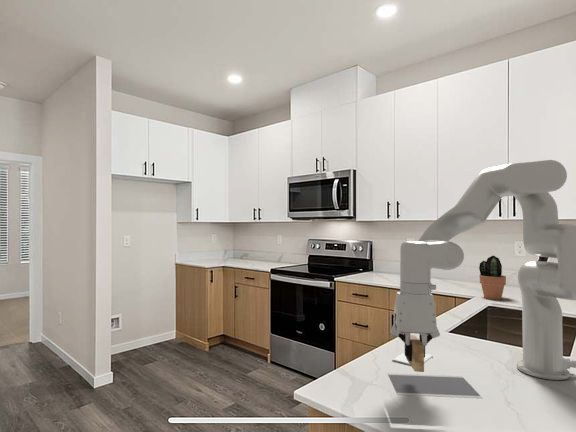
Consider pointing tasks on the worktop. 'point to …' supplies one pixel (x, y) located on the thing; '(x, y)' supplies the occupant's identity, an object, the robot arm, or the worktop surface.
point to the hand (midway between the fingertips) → (414, 359)
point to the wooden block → (417, 354)
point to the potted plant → (492, 278)
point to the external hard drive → (403, 360)
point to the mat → (432, 385)
